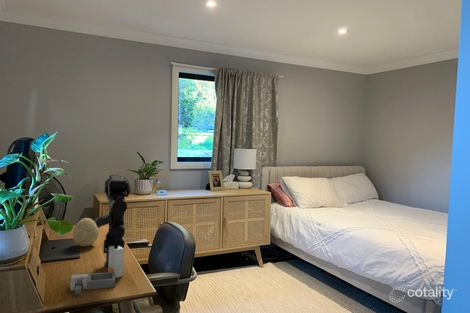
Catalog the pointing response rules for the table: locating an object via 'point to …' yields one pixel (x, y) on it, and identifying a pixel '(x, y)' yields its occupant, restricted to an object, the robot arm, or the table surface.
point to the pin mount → (79, 277)
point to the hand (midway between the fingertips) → (115, 245)
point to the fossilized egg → (85, 232)
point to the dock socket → (101, 280)
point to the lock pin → (78, 287)
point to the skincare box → (116, 261)
